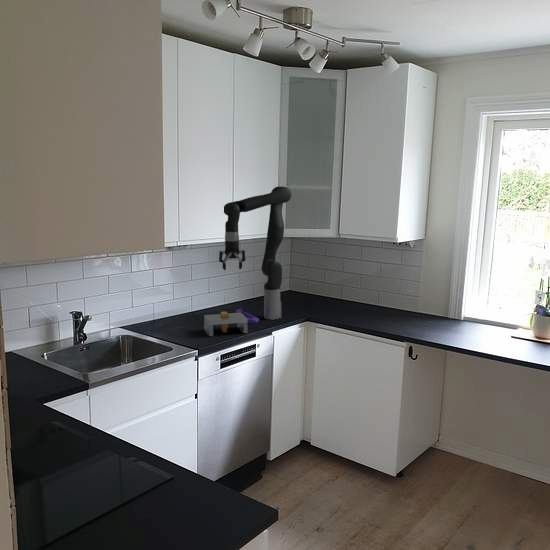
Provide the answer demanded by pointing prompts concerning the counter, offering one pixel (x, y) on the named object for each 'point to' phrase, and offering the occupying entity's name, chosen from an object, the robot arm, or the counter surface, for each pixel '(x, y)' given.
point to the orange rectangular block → (224, 326)
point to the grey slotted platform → (225, 322)
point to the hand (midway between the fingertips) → (232, 269)
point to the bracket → (248, 316)
